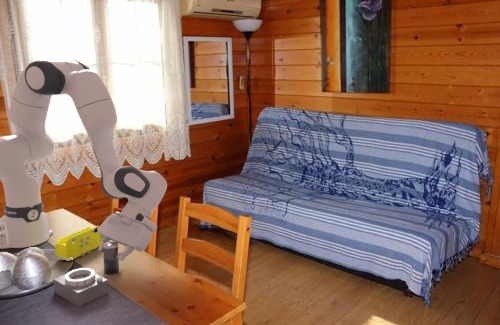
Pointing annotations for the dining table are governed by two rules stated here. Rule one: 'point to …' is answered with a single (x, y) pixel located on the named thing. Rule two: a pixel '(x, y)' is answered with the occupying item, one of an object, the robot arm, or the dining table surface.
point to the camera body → (80, 286)
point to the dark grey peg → (110, 258)
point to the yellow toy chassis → (78, 243)
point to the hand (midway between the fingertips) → (110, 255)
